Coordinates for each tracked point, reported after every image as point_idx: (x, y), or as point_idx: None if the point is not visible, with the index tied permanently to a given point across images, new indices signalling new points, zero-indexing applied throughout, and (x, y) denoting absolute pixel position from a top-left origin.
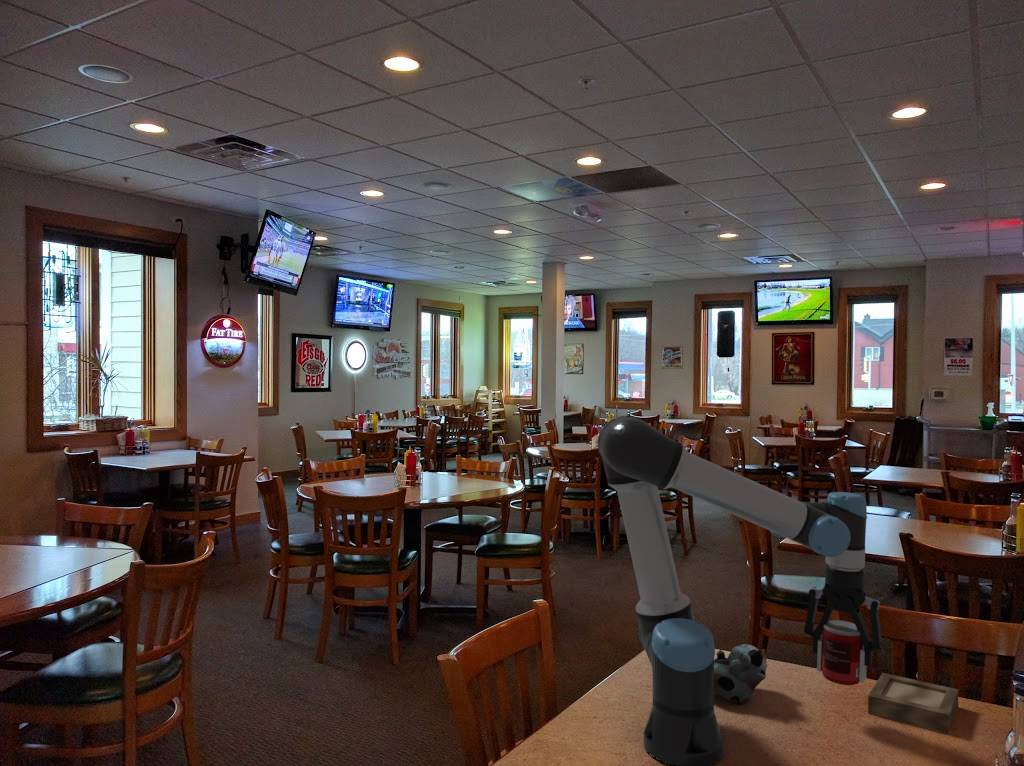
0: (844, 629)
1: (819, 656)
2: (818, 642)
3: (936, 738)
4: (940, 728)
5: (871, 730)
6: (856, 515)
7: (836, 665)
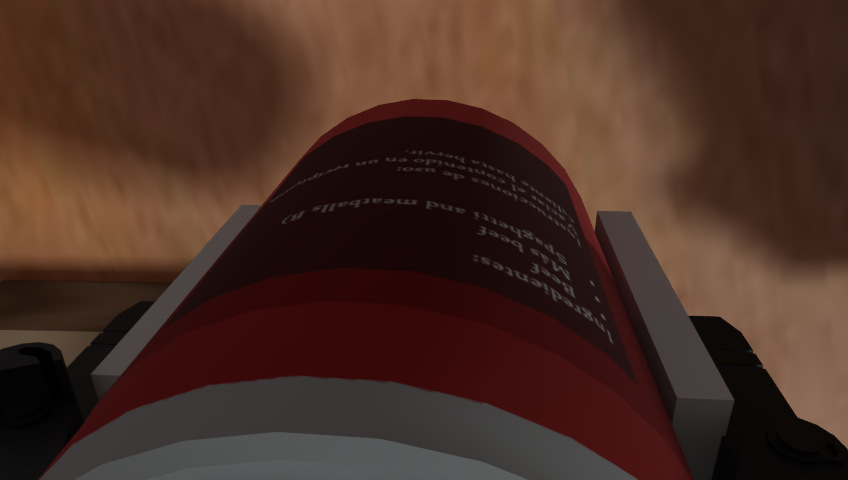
0: None
1: (644, 278)
2: (715, 383)
3: (18, 203)
4: (26, 288)
5: (274, 100)
6: None
7: (423, 137)
